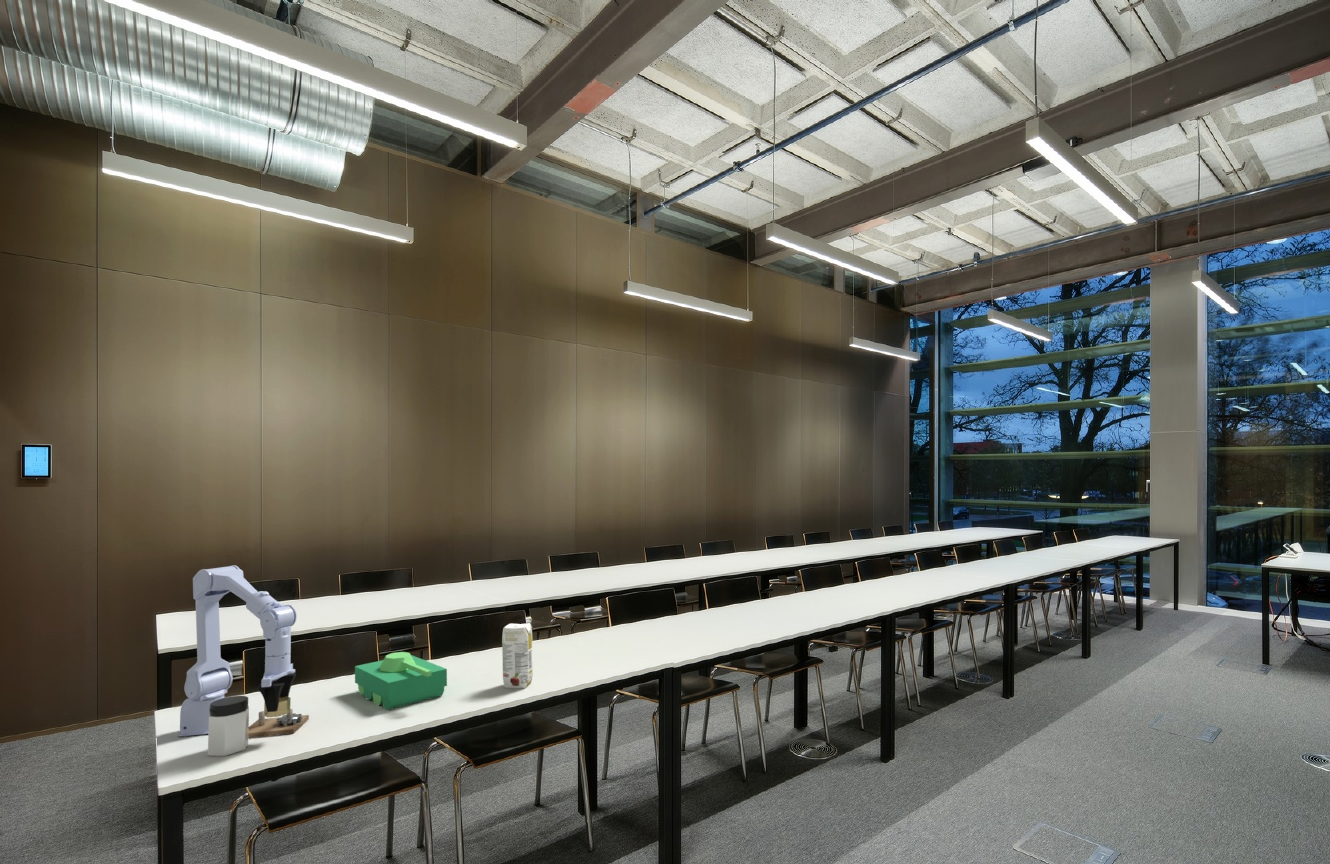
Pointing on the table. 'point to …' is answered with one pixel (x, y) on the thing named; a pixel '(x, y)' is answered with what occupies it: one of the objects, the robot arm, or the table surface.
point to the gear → (289, 720)
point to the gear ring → (279, 708)
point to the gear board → (273, 726)
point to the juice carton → (517, 655)
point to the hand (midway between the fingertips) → (277, 707)
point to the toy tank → (400, 680)
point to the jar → (228, 726)
